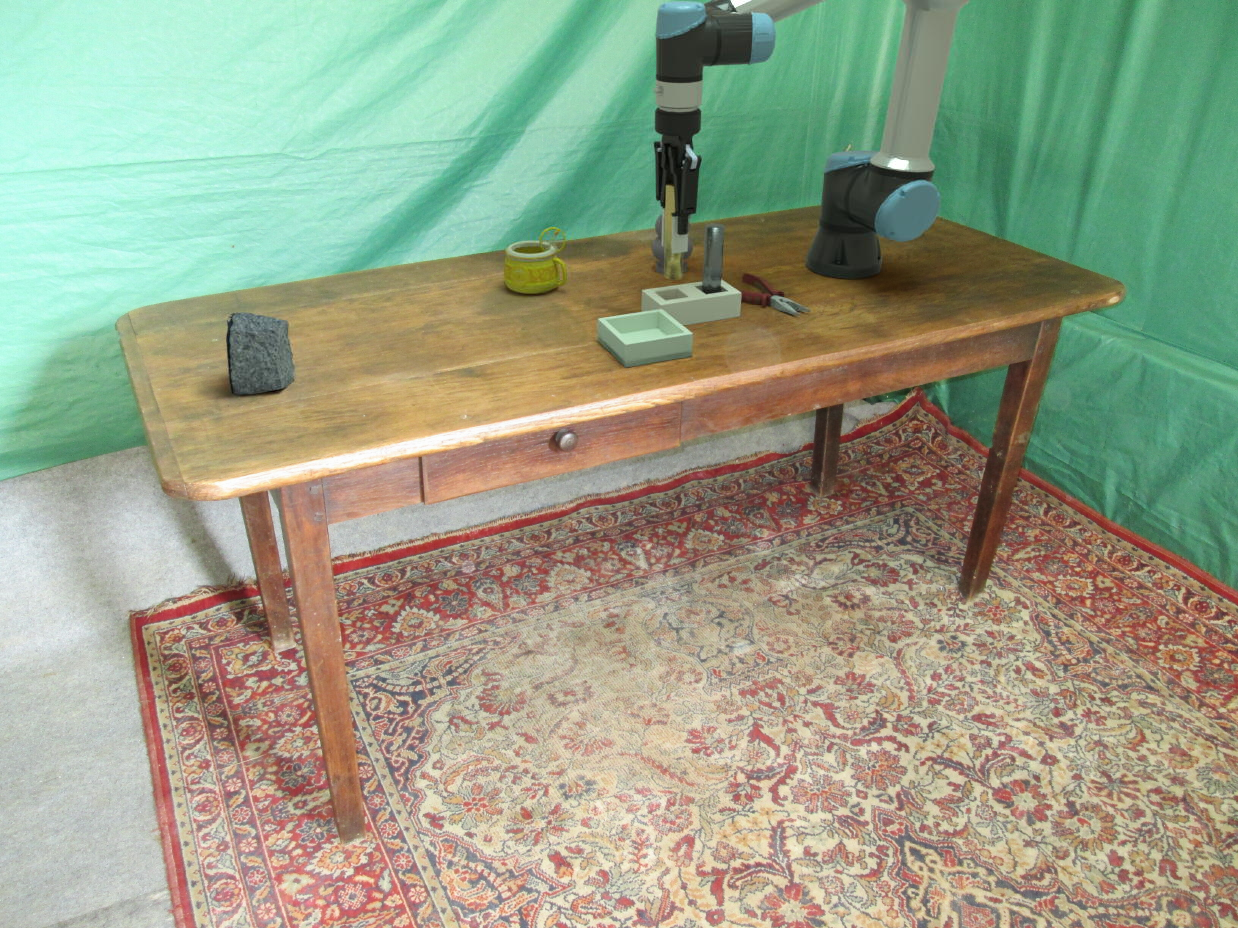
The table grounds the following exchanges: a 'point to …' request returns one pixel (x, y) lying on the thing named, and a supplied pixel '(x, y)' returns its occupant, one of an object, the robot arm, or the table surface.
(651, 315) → the tray
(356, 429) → the table surface
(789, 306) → the pliers
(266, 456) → the table surface
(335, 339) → the table surface
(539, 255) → the mug
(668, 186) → the pin brass
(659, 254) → the cat figurine
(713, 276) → the pin dark
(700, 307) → the pale green peg holder
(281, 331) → the stone
